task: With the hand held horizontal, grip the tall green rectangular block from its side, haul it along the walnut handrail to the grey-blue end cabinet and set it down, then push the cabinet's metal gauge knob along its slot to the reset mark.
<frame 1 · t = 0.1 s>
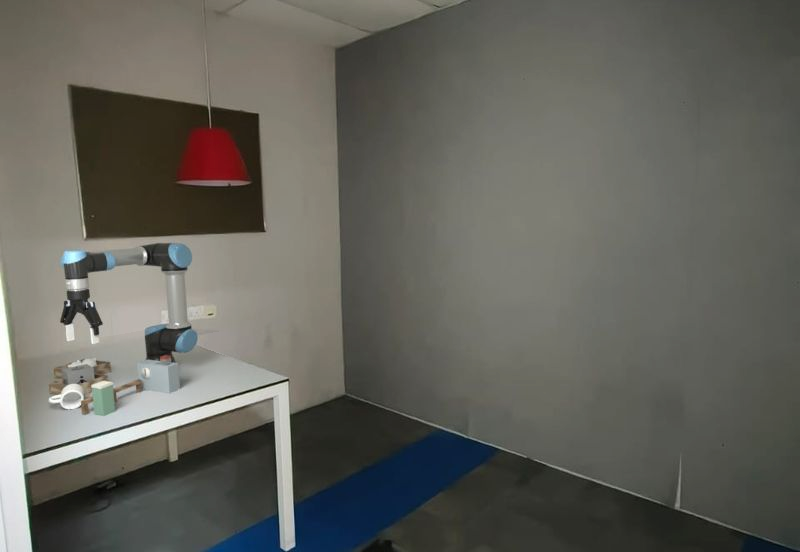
hand: (83, 341, 193), 28 cm above the table, tool pointing down, fingers open, 13 cm apart
icon cube: (79, 390, 219), on the table
green rectangular block: (104, 412, 192), on the table
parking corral: (82, 381, 229), on the table
end cabinet: (159, 388, 219), on the table
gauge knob: (165, 359, 215), point 14 cm above the table, slide at 0.0 cm
mug: (67, 407, 199), on the table
handrail: (113, 402, 203), on the table
cat figurine: (83, 375, 241), on the table
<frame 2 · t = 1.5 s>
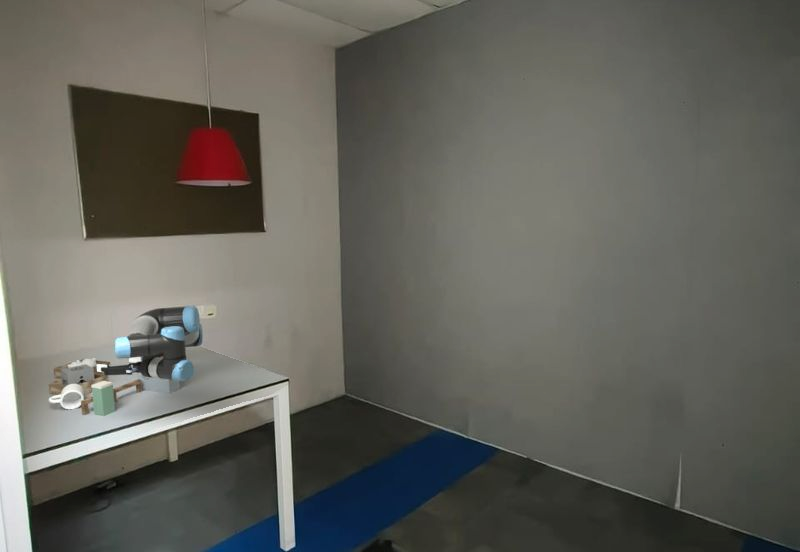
hand: (114, 362, 187), 21 cm above the table, tool horizontal, fingers open, 13 cm apart
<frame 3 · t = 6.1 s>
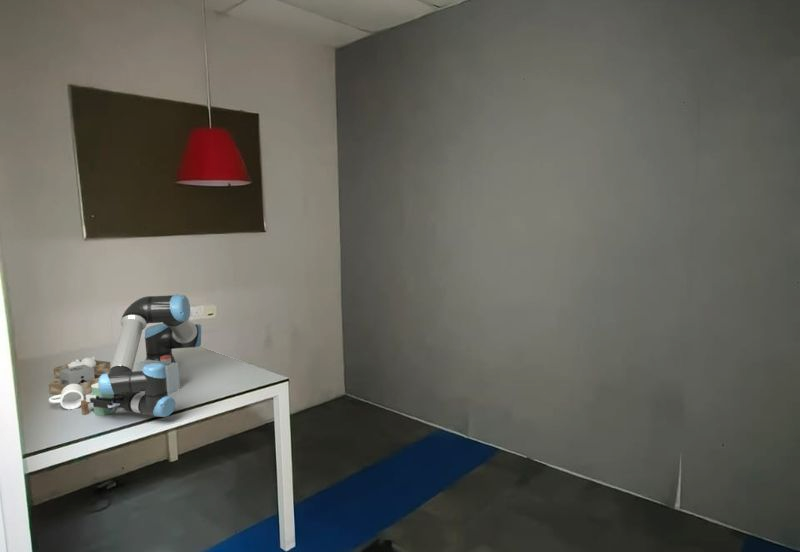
hand: (93, 395, 193), 7 cm above the table, tool horizontal, fingers closed on green rectangular block, 5 cm apart
green rectangular block: (104, 412, 192), on the table, touching gripper
cat figurine: (83, 373, 242), on the table
when the fingers open (7 cm above the table, at t = 11.4 s): green rectangular block stays where it is, on the table.
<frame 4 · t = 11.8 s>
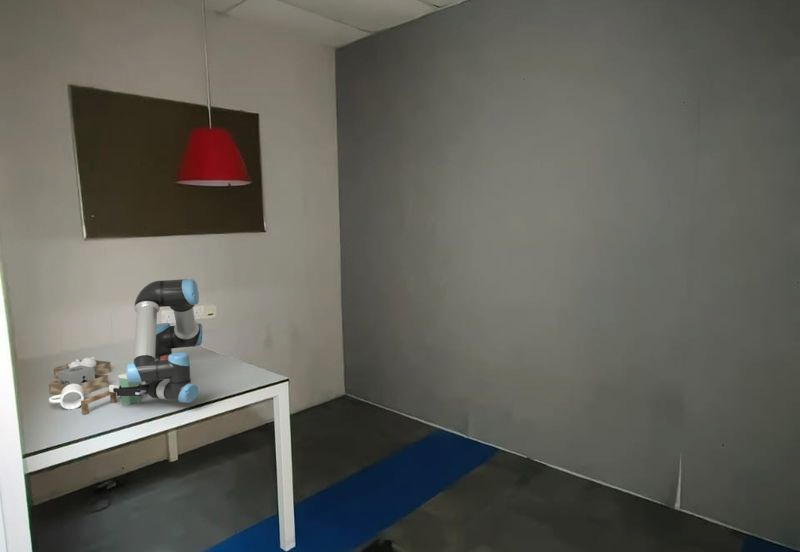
hand: (121, 383, 204), 7 cm above the table, tool horizontal, fingers open, 10 cm apart
icon cube: (78, 391, 217), on the table, touching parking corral
green rectangular block: (130, 402, 203), on the table
everything else where it was.
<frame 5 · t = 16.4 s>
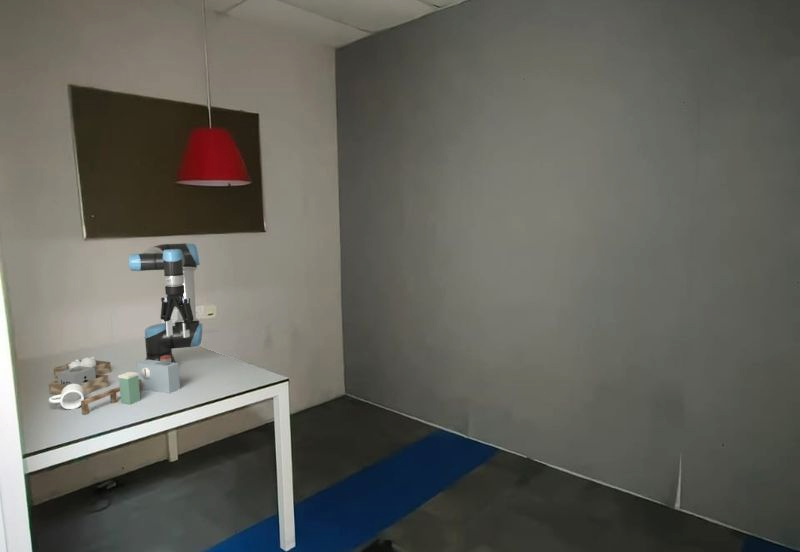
hand: (178, 336, 211), 25 cm above the table, tool pointing down, fingers open, 9 cm apart
icon cube: (78, 392, 216), on the table
everything else where it was.
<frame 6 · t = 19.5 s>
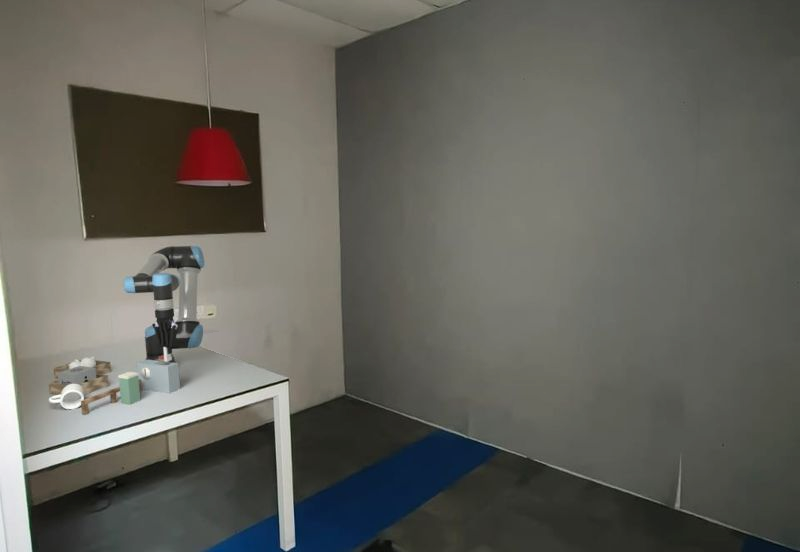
hand: (168, 360, 215), 14 cm above the table, tool pointing down, fingers closed
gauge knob: (163, 359, 216), point 14 cm above the table, slide at 1.1 cm, touching gripper
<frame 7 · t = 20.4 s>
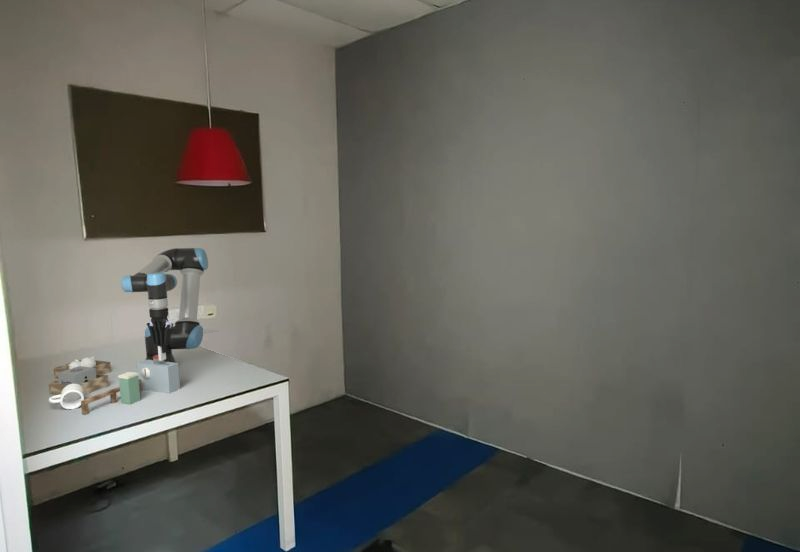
hand: (162, 359, 216), 14 cm above the table, tool pointing down, fingers closed
icon cube: (79, 392, 216), on the table, touching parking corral
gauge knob: (158, 359, 217), point 14 cm above the table, slide at 4.2 cm, touching gripper
everything else where it was.
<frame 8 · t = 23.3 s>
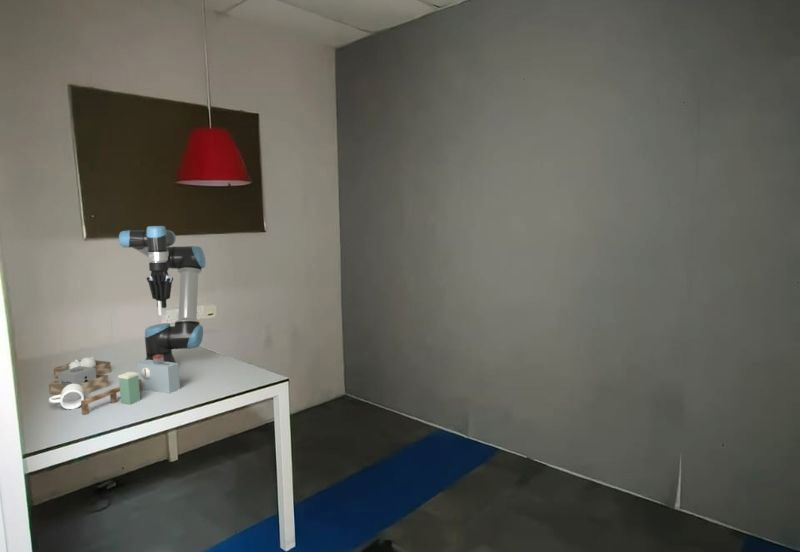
hand: (162, 314, 213), 34 cm above the table, tool pointing down, fingers closed
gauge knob: (158, 359, 217), point 14 cm above the table, slide at 4.3 cm
everything else where it was.
at the end: green rectangular block inside the target area (0.0 cm from its centre), on the table; green rectangular block tilted 0°; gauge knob slide at 4.3 cm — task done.
